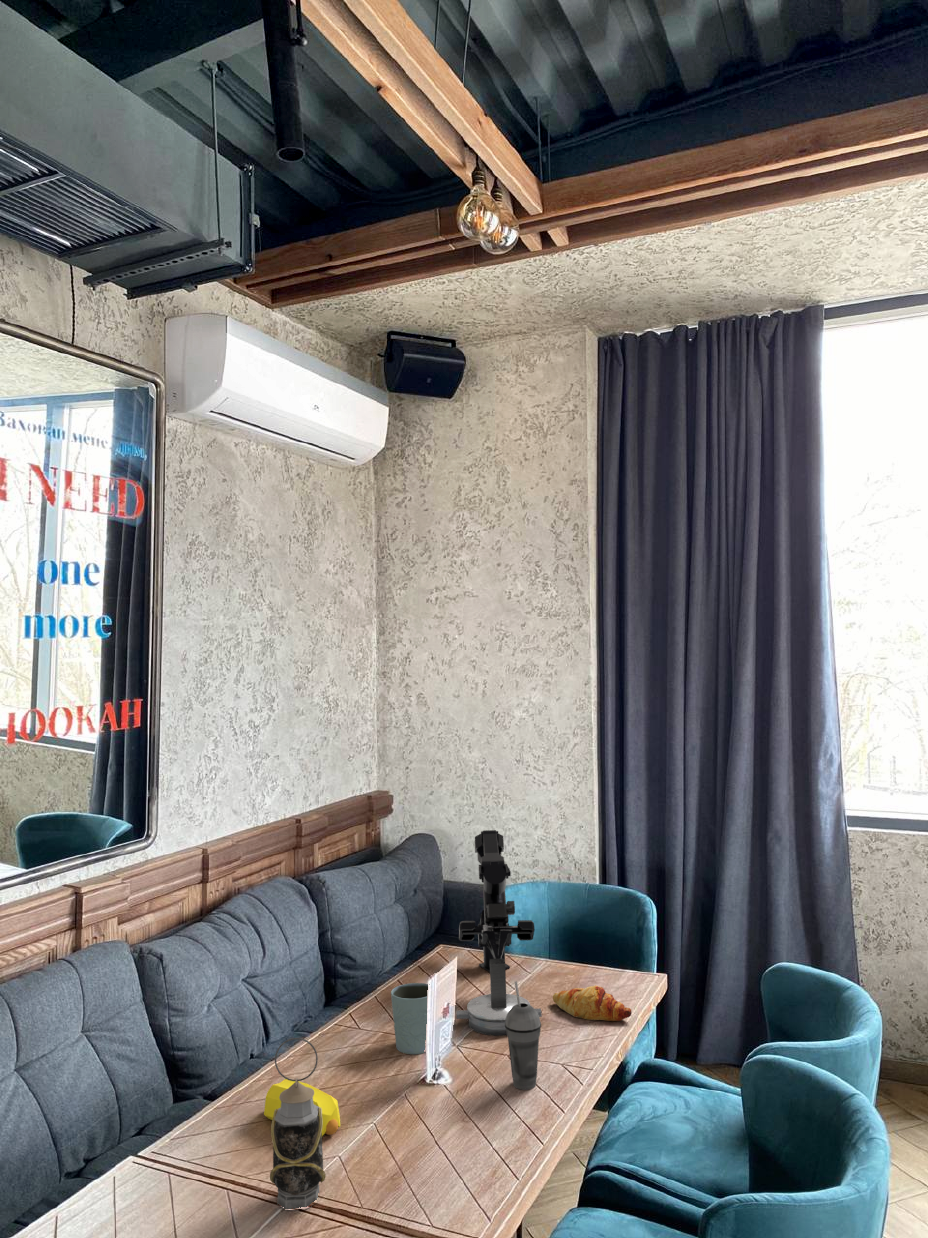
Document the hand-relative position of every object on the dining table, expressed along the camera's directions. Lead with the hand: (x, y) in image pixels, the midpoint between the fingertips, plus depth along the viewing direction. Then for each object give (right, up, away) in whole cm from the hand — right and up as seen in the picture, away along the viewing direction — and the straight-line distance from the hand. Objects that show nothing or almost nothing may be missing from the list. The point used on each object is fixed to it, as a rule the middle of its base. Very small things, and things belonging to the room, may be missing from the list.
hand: (498, 963), depth 226 cm
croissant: (+22, -9, -8) cm, 25 cm away
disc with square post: (0, -6, -13) cm, 14 cm away
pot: (0, -9, -13) cm, 16 cm away
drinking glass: (-19, -9, -24) cm, 32 cm away
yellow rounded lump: (-38, -9, -57) cm, 69 cm away
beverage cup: (+4, -8, -44) cm, 44 cm away
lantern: (-35, -7, -81) cm, 88 cm away
